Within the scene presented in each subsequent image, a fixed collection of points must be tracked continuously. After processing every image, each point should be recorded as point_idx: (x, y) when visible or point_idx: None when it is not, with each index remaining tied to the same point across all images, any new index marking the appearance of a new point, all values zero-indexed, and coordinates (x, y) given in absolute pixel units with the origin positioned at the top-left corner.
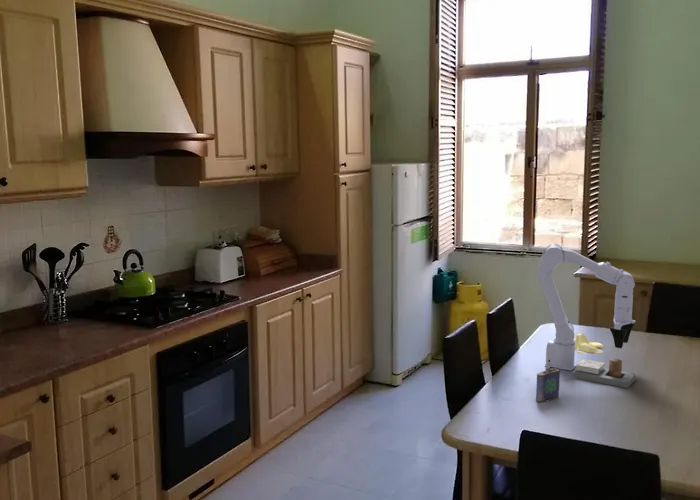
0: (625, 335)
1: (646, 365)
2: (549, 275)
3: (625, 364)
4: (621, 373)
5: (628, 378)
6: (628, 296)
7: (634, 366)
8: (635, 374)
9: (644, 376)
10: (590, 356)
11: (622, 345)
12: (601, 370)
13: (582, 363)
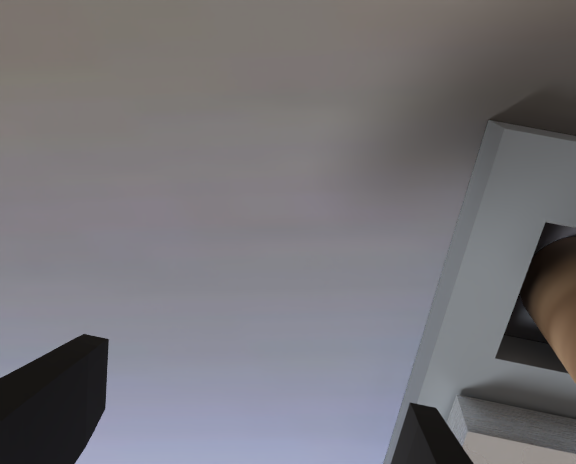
0: (39, 440)
1: (20, 38)
2: None
3: (93, 216)
4: (531, 256)
5: None
6: None
7: (108, 142)
8: (513, 129)
9: (369, 40)
10: None
11: (441, 428)
12: (554, 419)
13: None
